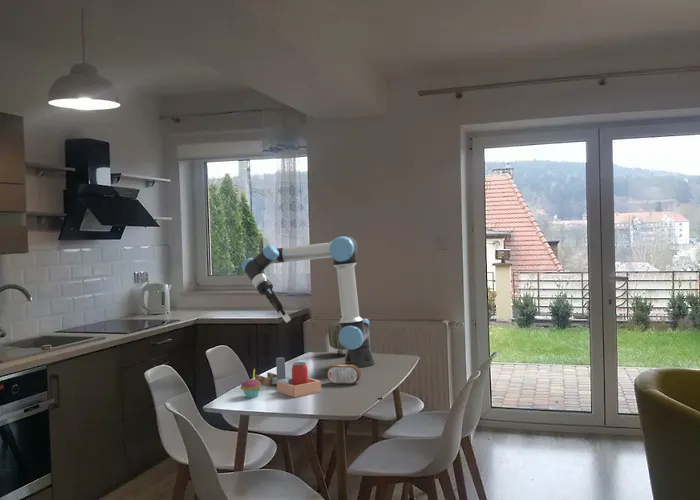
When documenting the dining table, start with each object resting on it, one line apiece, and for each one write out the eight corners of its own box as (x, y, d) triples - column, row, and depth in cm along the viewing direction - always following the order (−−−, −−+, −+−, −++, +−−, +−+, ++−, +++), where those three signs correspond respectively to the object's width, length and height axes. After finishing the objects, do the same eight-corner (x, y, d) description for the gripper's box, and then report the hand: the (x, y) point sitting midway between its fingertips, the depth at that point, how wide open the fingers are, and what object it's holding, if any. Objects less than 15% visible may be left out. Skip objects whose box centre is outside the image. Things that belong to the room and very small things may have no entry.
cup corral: (277, 391, 270) (276, 381, 270) (303, 386, 277) (303, 376, 277) (294, 397, 258) (294, 386, 258) (321, 391, 266) (320, 381, 266)
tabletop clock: (358, 354, 348) (356, 308, 348) (348, 357, 341) (346, 310, 341) (338, 352, 357) (336, 308, 357) (328, 355, 350) (326, 309, 350)
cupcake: (265, 394, 266) (264, 365, 266) (256, 399, 258) (254, 370, 258) (247, 393, 269) (245, 365, 268) (237, 398, 261) (236, 369, 260)
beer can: (303, 394, 263) (301, 365, 263) (289, 393, 266) (288, 364, 266) (311, 390, 269) (310, 362, 269) (298, 389, 272) (296, 361, 272)
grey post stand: (270, 384, 281) (269, 358, 281) (283, 382, 285) (282, 355, 285) (289, 390, 268) (288, 362, 268) (302, 388, 272) (301, 360, 272)
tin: (361, 383, 279) (360, 364, 279) (359, 384, 276) (358, 365, 276) (328, 382, 283) (327, 363, 283) (326, 384, 280) (325, 365, 280)
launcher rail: (255, 381, 292) (254, 374, 292) (269, 378, 296) (269, 372, 296) (270, 386, 281) (269, 379, 281) (284, 383, 285) (284, 376, 285)
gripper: (257, 294, 317) (283, 330, 308) (254, 282, 306) (280, 319, 296) (270, 286, 319) (296, 322, 310) (267, 274, 308) (294, 311, 299)
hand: (288, 320), depth 303 cm, fingers closed
